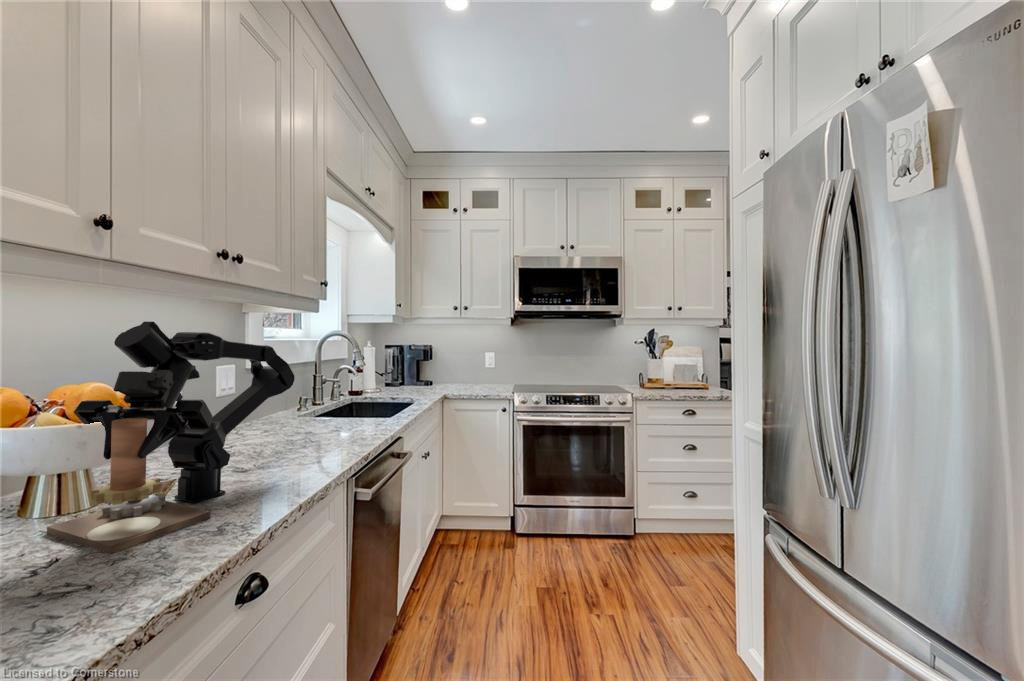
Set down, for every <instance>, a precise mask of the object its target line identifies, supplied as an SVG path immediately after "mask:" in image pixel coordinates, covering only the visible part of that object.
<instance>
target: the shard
mask: <svg viewBox="0 0 1024 681" xmlns="http://www.w3.org/2000/svg"><path fill="white" fill-rule="evenodd" d="M176 481H178V478H176V477H175V478H174V479H170V480H166V481H161V482H162V491H161V492H160V493H157V496H163V495H165V496H167V493H168V492H169V491H170V490H172V489H173V488H174V487H175V482H176Z"/></svg>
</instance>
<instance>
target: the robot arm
mask: <svg viewBox="0 0 1024 681" xmlns="http://www.w3.org/2000/svg"><path fill="white" fill-rule="evenodd" d="M113 343H114V346H115V347H116V348H118V349H119V351H121V352H122V353H123V354H124V355H126V356H127V357H128V358H129V359H130V360H131V361H132V362H133V363H135V364H136V365H137V366H138V367H140V368H143V369H144V368H145V369H146V368H151V371H150V372H149V371H132V370H131V371H129V370H127V371H119V372H118V375H117V378H116V380H115V384H114V387H113V391H114V392H118V393H121V394H122V395H124V397H123V398H122V400H123V401H124V402H125V403H126V404H129V405H130V406H128V407H124V406H121V405H120V404H119V405H118V404H114V403H113V402H112V401H111V399H96V400H95V399H92V400H91V399H86V400H82V401H80V402H79V403H78V405H77V406H76V407H75V409H74V410H73V411H72V412H73V414H74V415H75V416H76V417H77V419H79V420H80V421H81V422H82V423H83V424H84V425H85V424H90V423H94V422H101V423H102V425H103V426H104V427H105V432H104V433H105V438H104V446H103V447H104V448H103V458H104V459H105V460H111V428H112V421H113V420H118V419H125V418H147V421H153V424H152V426H151V428H150V429H149V432H148V433H147V437H146V439H145V441H144V442H143V444H142V446H141V448H140V451H139V453H138V457H139V458H140V459H141V458H144V457H146V458H147V456H148V455H150V454H151V453H153V452H154V451H155V450H157V449H158V448H159V447H160V446H162V445H163V444H165V443H166V442H168V448H167V454H168V457H169V458H170V460H171V463H172V466H173V468H174V469H180V477H178V478H177V494H176V495H174V499H175V500H179V501H185V502H189V503H193V504H194V503H195V504H196V503H200V502H202V501H206V500H209V499H212V498H215V497H217V496H221V495H225V494H226V490H223V489H221V481H222V480H221V479H222V469H223V468H224V467H226V466H228V465H229V461H230V458H231V454H230V453H229V452H228V451H227V450H226V449H225V448H224V447H225V443H226V439H227V436H228V434H230V433H231V432H232V431H233V430H234V429H235V428H236V427H238V426H239V425H240V424H241V423H242V422H243V421H245V420H246V419H247V418H248V417H249V416H250V415H251V414H252V413H253V412H254V411H256V409H258V408H259V407H260V406H262V405H263V403H265V402H266V401H267V400H268V399H269V398H273V397H275V396H279V395H282V394H283V393H285V392H287V391H288V390H290V389H291V387H292V386H293V385H294V382H295V379H296V378H295V375H294V372H293V370H292V368H291V366H290V365H289V364H288V362H287V361H286V360H284V359H283V358H282V357H281V356H280V355H278V353H277V352H276V351H275V349H274V348H273V346H271V345H267V344H266V345H263V344H252V343H246V342H245V343H244V342H236V341H228V340H226V339H223V337H222V336H220V335H216V334H214V333H210V332H198V331H197V332H194V331H193V332H192V331H190V332H189V331H185V332H184V331H180V332H179V331H178V332H177V333H175V335H173V336H172V337H171V338H169V337H168V335H166V334H165V333H164V332H163V331H162V330H161V328H160V326H159V325H158V324H157V323H156V322H155V321H142V323H141V324H139V325H136V326H134V327H131V328H129V329H126V330H125V331H124V332H123V331H122V332H121V333H120V334H118V335H117V337H116V338H115V340H114V342H113ZM219 359H235V360H236V359H237V360H247V361H248V360H249V362H250V372H251V374H252V378H251V379H252V380H251V385H250V386H249V387H247V388H246V389H245V390H244V391H243V392H241V393H239V395H238V396H236V397H235V398H234V399H233V400H232V401H229V403H228V404H226V405H225V406H224V407H223V408H222V409H221V410H219V411H218V412H217V413H215V414H214V415H212V412H211V411H210V409H209V407H208V405H207V403H206V402H205V400H203V399H183V397H184V396H183V394H182V393H181V392H182V391H183V388H184V386H185V384H186V383H187V381H188V380H194V379H199V378H200V377H201V376H200V372H199V371H198V370H197V368H196V365H194V364H192V363H191V362H190V361H204V362H205V361H213V360H214V361H215V360H219ZM262 362H264V363H266V365H267V366H263V364H262ZM174 406H175V407H174Z"/></svg>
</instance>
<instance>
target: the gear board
mask: <svg viewBox="0 0 1024 681" xmlns="http://www.w3.org/2000/svg"><path fill="white" fill-rule="evenodd" d="M107 504H108V505H105V506H102V510H101V511H98V512H94V513H90V514H87V515H84V516H80V517H76V518H74V519H70V520H66V521H65V520H64V521H62V522H59V523H55V524H52V525H48V526H46V535H49V536H51V537H56V538H58V539H61V540H65V541H67V542H72V543H75V544H77V545H81V546H83V545H84V547H86V546H87V547H86V548H89V547H91V548H90V549H92V548H93V550H96V551H99V550H100V552H102V553H105V552H106V553H105V554H109V555H111V554H114V553H117V552H119V551H122V550H125V549H128V548H131V547H133V546H136V545H139V544H143V543H144V542H147V541H151V540H153V539H155V538H158V537H161V536H164V535H166V534H168V533H172V532H174V531H177V530H180V529H183V528H186V527H188V526H191V525H194V524H197V523H199V521H200V522H203V521H205V520H208V519H210V518H211V510H207V509H203V508H198V507H194V506H190V505H186V504H180V503H177V502H174V501H173V502H172V501H168V500H166V495H163V496H157V493H154V494H151V495H149V498H147V499H143V500H138V499H137V500H132V501H127V502H123V503H122V504H117V505H112V503H107ZM207 518H208V519H207ZM202 520H203V521H202Z"/></svg>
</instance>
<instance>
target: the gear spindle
mask: <svg viewBox="0 0 1024 681" xmlns="http://www.w3.org/2000/svg"><path fill="white" fill-rule="evenodd" d="M147 435H148V420H147V418H125V419H118V420H113V421H112V428H111V458H110V473H109V474H110V475H109V476H110V478H109V483H107V485H106V486H103V487H97V488H93V489H92V490H91V498H90V499H91V500H92V505H95V506H98V505H101V504H108V503H112V505H117V504H122V503H123V502H127V501H132V500H137V499H138V500H143V499H147V498H149V495H151V494H154V493H160V492H161V491H162V482H163V481H161V478H159V477H158V478H157V477H155V478H150V479H147V456H146V457H144V458H141V459H140V458H139V457H138V453H139V451H140V448H141V446H142V444H143V442H144V441H145V439H146V437H147Z"/></svg>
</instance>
